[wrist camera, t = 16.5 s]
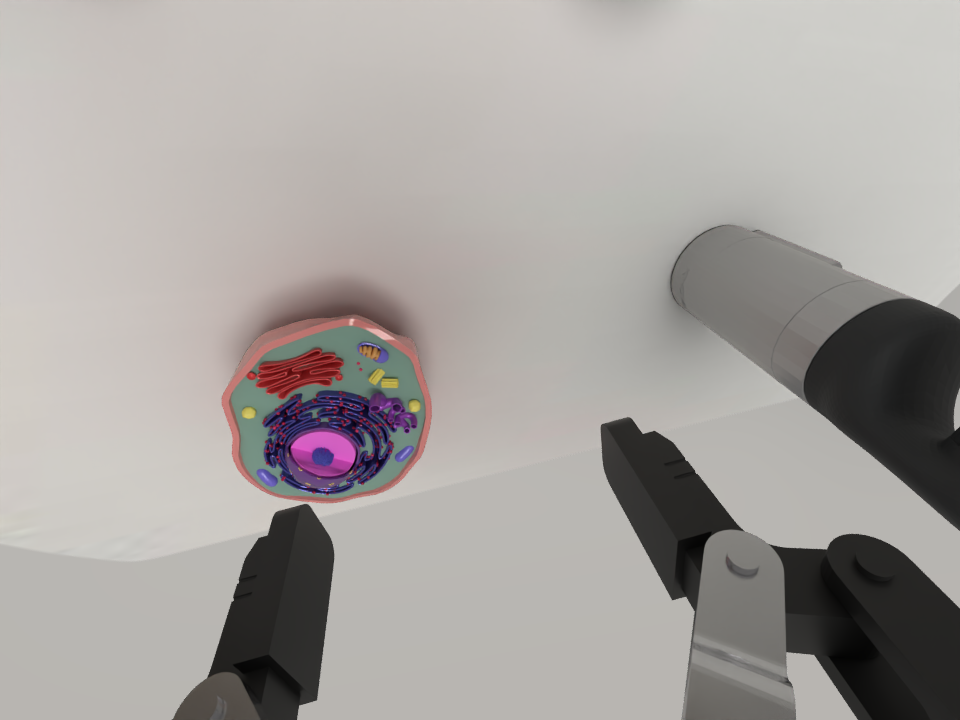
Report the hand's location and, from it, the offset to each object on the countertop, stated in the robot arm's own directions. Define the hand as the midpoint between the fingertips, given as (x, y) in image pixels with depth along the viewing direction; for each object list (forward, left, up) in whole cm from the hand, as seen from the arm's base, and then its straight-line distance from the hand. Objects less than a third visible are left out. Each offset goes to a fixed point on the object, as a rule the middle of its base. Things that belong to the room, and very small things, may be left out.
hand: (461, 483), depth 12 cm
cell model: (+11, +13, -30) cm, 35 cm away
